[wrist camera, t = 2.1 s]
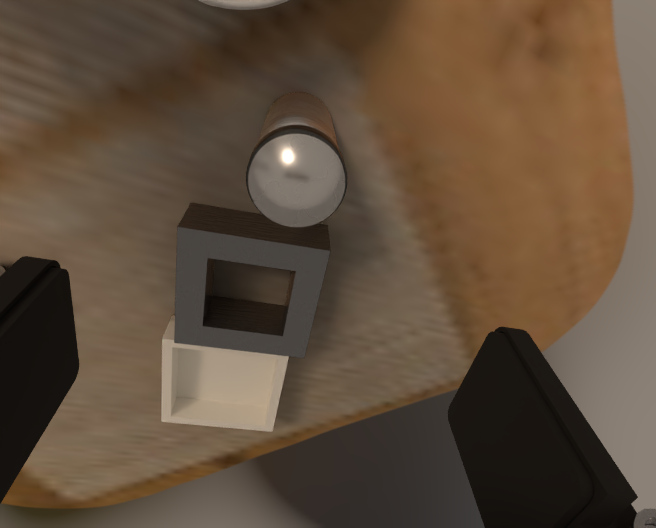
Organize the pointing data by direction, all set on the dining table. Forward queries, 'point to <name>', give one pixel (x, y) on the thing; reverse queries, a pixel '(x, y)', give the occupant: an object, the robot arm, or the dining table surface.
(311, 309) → the block
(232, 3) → the ramekin
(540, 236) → the dining table surface
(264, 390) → the tray
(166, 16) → the dining table surface
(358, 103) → the dining table surface
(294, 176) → the shiny metal canister
